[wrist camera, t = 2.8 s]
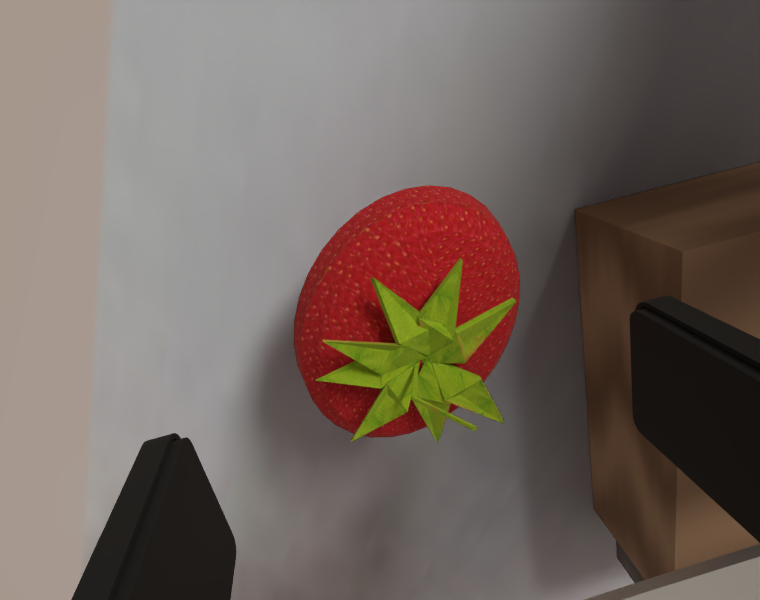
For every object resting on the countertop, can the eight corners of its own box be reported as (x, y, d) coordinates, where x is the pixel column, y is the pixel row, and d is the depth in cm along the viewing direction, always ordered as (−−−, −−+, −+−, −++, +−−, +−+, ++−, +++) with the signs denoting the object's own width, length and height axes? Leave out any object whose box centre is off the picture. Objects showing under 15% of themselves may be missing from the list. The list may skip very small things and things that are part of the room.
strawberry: (490, 204, 19) (668, 301, 10) (399, 366, 21) (475, 572, 12) (351, 131, 17) (408, 164, 8) (265, 314, 19) (234, 508, 10)
